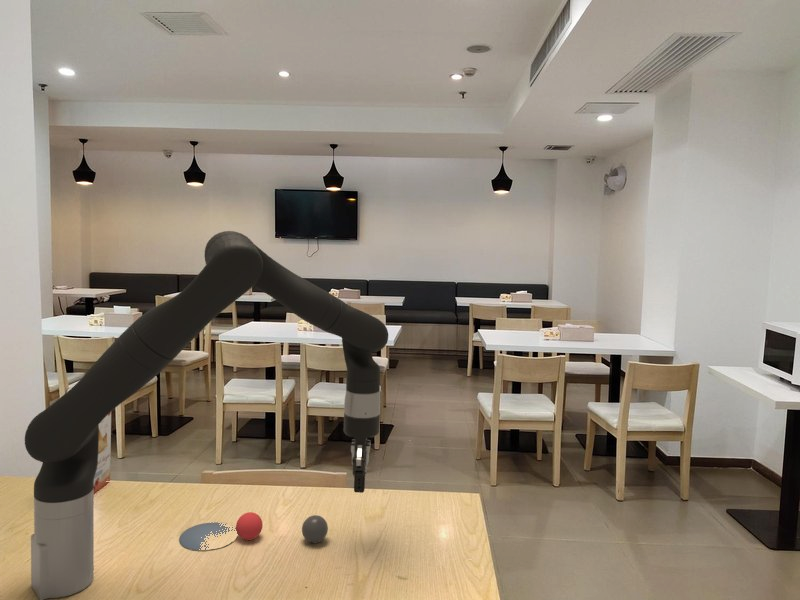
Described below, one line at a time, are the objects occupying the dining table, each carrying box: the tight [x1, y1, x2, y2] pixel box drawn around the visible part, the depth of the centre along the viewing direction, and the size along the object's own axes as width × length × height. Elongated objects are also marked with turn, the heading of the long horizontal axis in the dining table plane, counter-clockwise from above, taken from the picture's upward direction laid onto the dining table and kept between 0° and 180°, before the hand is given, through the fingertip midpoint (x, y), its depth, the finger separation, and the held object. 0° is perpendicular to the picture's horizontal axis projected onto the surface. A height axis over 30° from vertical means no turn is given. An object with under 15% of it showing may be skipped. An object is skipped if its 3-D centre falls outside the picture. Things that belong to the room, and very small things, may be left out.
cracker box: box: [94, 411, 112, 494], centre depth 142 cm, size 14×6×21 cm, turn 179°
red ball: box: [235, 511, 264, 541], centre depth 124 cm, size 6×6×6 cm
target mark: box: [178, 521, 236, 551], centre depth 125 cm, size 12×12×1 cm
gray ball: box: [301, 514, 329, 543], centre depth 124 cm, size 6×6×6 cm
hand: (359, 490), depth 124 cm, fingers closed
